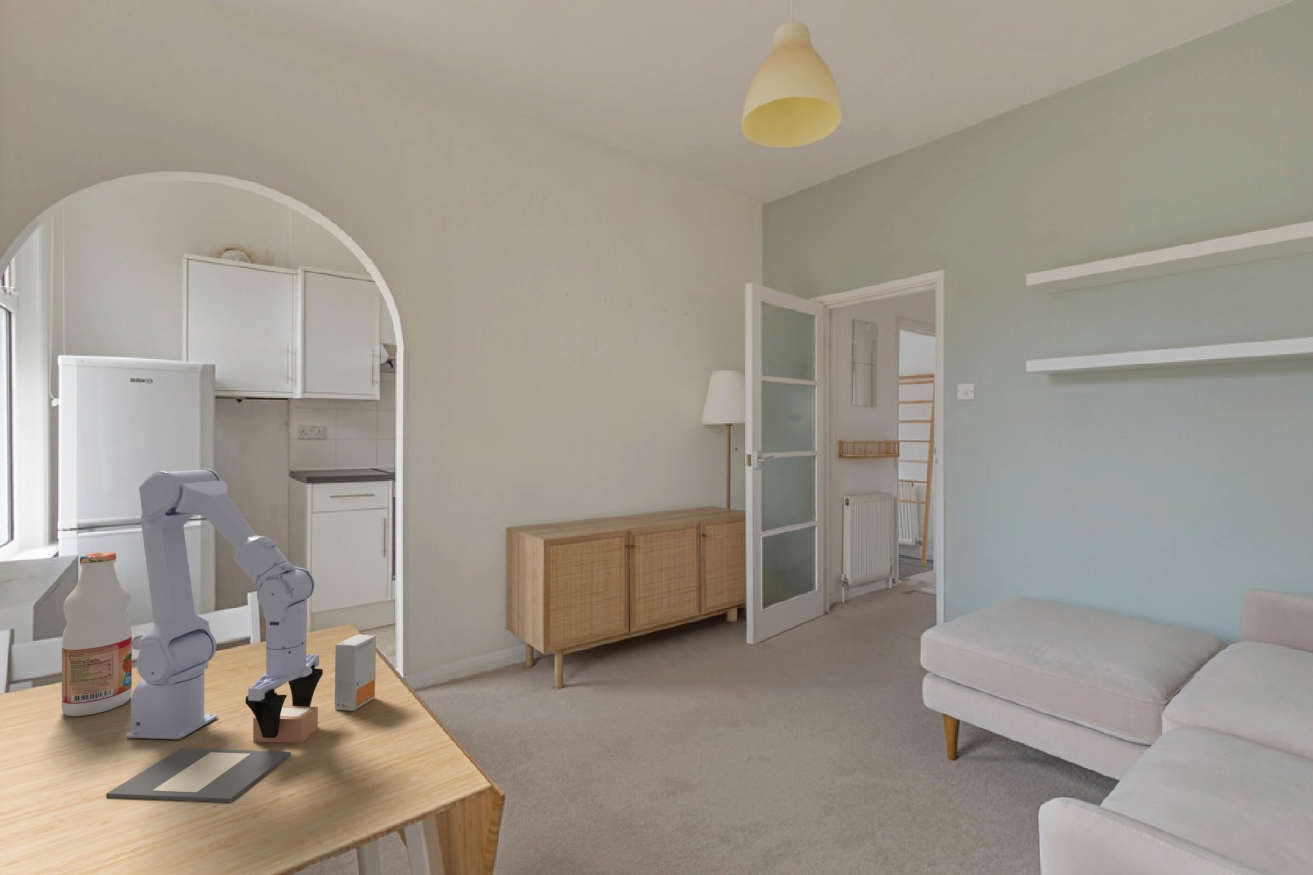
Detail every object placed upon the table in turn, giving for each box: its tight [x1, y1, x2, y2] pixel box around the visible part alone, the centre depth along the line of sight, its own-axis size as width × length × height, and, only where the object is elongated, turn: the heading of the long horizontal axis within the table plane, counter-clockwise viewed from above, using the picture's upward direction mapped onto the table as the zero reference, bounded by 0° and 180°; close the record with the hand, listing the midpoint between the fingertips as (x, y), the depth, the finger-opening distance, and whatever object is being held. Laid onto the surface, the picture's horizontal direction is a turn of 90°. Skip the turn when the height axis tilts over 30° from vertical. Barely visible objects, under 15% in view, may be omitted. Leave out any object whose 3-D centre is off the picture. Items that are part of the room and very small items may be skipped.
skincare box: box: [334, 633, 377, 712], centre depth 110 cm, size 6×4×12 cm
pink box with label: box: [252, 705, 319, 744], centre depth 99 cm, size 8×4×4 cm, turn 87°
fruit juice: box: [61, 551, 133, 717], centre depth 109 cm, size 9×9×28 cm
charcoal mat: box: [105, 747, 292, 803], centre depth 87 cm, size 18×12×1 cm, turn 87°
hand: (286, 725), depth 99 cm, fingers open, 7 cm apart
